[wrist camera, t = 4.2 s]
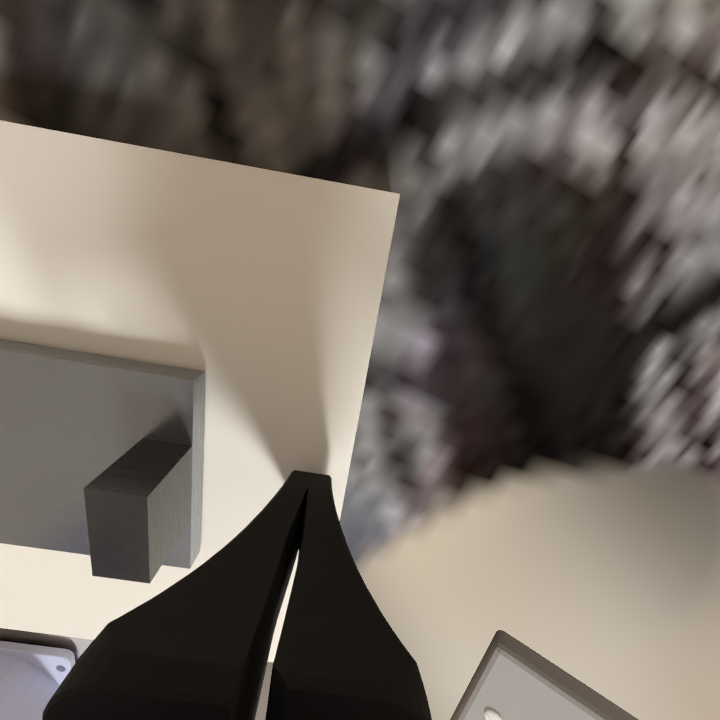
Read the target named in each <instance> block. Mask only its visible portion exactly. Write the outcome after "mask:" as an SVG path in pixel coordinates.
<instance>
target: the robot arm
mask: <svg viewBox="0 0 720 720" xmlns="http://www.w3.org/2000/svg"><path fill="white" fill-rule="evenodd" d="M298 550H299V554H298ZM297 554H298V562H297V568H296V572H295V577H294V581H293V585H292V590H291V594H290V598H289V602H288V606H287V610H286V615H285V619H284V623H283V627H282V631H281V635H280V639H279V643H278V647H277V651H276V655H275V658H274V662H273V668H272V676H271V683H270V690H269V697H268V705H267V712H266V720H432V719H431V714H430V709H429V705H428V701H427V696H426V693H425V689H424V685H423V682H422V679H421V675H420V672H419V669H418V666H417V663H416V662H415V660H414V659H413V658H412V656H411V655H410V654H409V652H408V651H407V650H406V648H405V647H404V646H403V644H402V643H401V641H400V640H399V638H398V637H397V636H396V634H395V633H394V632H393V630H392V628H391V627H390V625H389V624H388V622H387V621H386V619H385V618H384V616H383V615H382V613H381V612H380V610H379V608H378V606H377V605H376V603H375V601H374V599H373V597H372V596H371V594H370V592H369V591H368V589H367V587H366V585H365V583H364V581H363V579H362V577H361V575H360V573H359V571H358V569H357V567H356V565H355V562H354V560H353V558H352V556H351V553H350V551H349V548H348V546H347V543H346V540H345V537H344V534H343V532H342V528H341V525H340V522H339V518H338V515H337V511H336V507H335V503H334V497H333V491H332V478H331V477H330V476H329V475H325V474H318V473H311V472H305V471H298V470H294V471H292V472H291V473H290V475H289V477H288V478H287V480H286V481H285V483H284V484H283V485H282V487H281V488H280V489H279V491H278V492H277V493H276V494H275V496H274V497H273V498H272V499H271V500H270V501H269V503H268V504H267V505H266V506H265V507H264V508H263V510H262V511H261V512H260V513H259V514H258V515H257V516H256V517H255V518H254V519H253V520H252V521H251V522H250V523H249V524H248V525H247V526H246V527H245V528H244V529H243V530H242V531H241V532H240V533H239V534H238V535H237V536H236V537H235V538H233V539H232V540H231V541H230V542H229V543H228V544H227V545H225V546H224V547H223V548H222V549H221V550H220V551H218V552H217V553H216V554H214V555H213V556H212V557H211V558H209V559H208V560H207V561H206V562H204V563H203V564H202V565H200V566H199V567H198V568H196V569H195V570H194V571H192V572H191V573H190V574H188V575H187V576H185V577H184V578H182V579H181V580H179V581H178V582H176V583H175V584H173V585H172V586H170V587H169V588H167V589H166V590H164V591H163V592H161V593H160V594H158V595H156V596H155V597H153V598H152V599H150V600H148V601H146V602H145V603H143V604H141V605H140V606H138V607H136V608H134V609H133V610H131V611H129V612H127V613H126V614H124V615H122V616H120V617H119V618H117V619H115V620H113V621H111V622H109V623H108V624H107V625H106V626H105V628H104V629H103V630H102V631H101V632H100V633H99V635H98V636H97V637H96V638H95V639H94V640H93V642H92V643H91V644H90V645H89V647H88V648H87V649H86V650H85V651H84V653H83V654H82V655H81V656H80V657H79V659H78V660H77V662H76V663H75V657H74V653H73V652H72V651H70V650H68V649H63V648H55V647H47V646H39V645H31V644H23V643H15V642H7V641H0V720H255V716H256V711H257V707H258V702H259V697H260V693H261V688H262V683H263V679H264V675H265V670H266V666H267V661H268V657H269V652H270V648H271V643H272V639H273V634H274V631H275V627H276V623H277V619H278V616H279V613H280V609H281V606H282V603H283V600H284V596H285V593H286V590H287V587H288V583H289V580H290V577H291V574H292V570H293V567H294V564H295V560H296V557H297Z"/></svg>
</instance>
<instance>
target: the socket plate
mask: <svg viewBox="0 0 720 720" xmlns="http://www.w3.org/2000/svg"><path fill="white" fill-rule="evenodd" d="M399 197H400V194H397V193H392V192H386V191H381V190H376V189H370V188H365V187H359V186H354V185H348V184H343V183H338V182H332V181H327V180H321V179H316V178H310V177H305V176H300V175H294V174H289V173H283V172H278V171H272V170H267V169H262V168H256V167H251V166H245V165H240V164H234V163H229V162H223V161H218V160H213V159H207V158H202V157H196V156H191V155H185V154H180V153H175V152H169V151H164V150H158V149H153V148H147V147H142V146H137V145H131V144H126V143H120V142H115V141H109V140H104V139H98V138H93V137H88V136H82V135H77V134H71V133H66V132H60V131H55V130H50V129H44V128H39V127H33V126H28V125H22V124H17V123H12V122H6V121H1V120H0V339H4V340H10V341H16V342H23V343H29V344H35V345H42V346H48V347H54V348H60V349H67V350H73V351H79V352H86V353H92V354H98V355H104V356H111V357H117V358H123V359H130V360H136V361H142V362H148V363H155V364H161V365H167V366H174V367H180V368H186V369H193V370H199V371H205V401H204V435H203V470H202V504H201V538H200V552H199V554H198V556H197V557H196V559H195V561H194V563H193V565H192V567H191V568H190V569H187V568H180V567H172V566H165V565H162V566H161V567H160V569H159V570H158V572H157V573H156V575H155V576H154V578H153V580H152V581H151V583H150V584H149V583H142V582H134V581H127V580H119V579H112V578H104V577H97V576H92V567H91V557H90V555H84V554H77V553H69V552H62V551H54V550H47V549H40V548H32V547H25V546H17V545H10V544H3V543H0V628H4V629H12V630H20V631H28V632H36V633H44V634H52V635H60V636H68V637H76V638H84V639H92V640H94V639H95V638H96V637H97V636H98V635H99V633H100V632H101V631H102V630H103V629H104V628H105V626H106V625H107V624H108V623H109V622H111V621H113V620H115V619H117V618H119V617H120V616H122V615H124V614H126V613H127V612H129V611H131V610H133V609H134V608H136V607H138V606H140V605H141V604H143V603H145V602H146V601H148V600H150V599H152V598H153V597H155V596H156V595H158V594H160V593H161V592H163V591H164V590H166V589H167V588H169V587H170V586H172V585H173V584H175V583H176V582H178V581H179V580H181V579H182V578H184V577H185V576H187V575H188V574H190V573H191V572H192V571H194V570H195V569H196V568H198V567H199V566H200V565H202V564H203V563H204V562H206V561H207V560H208V559H209V558H211V557H212V556H213V555H214V554H216V553H217V552H218V551H220V550H221V549H222V548H223V547H224V546H225V545H227V544H228V543H229V542H230V541H231V540H232V539H233V538H235V537H236V536H237V535H238V534H239V533H240V532H241V531H242V530H243V529H244V528H245V527H246V526H247V525H248V524H249V523H250V522H251V521H252V520H253V519H254V518H255V517H256V516H257V515H258V514H259V513H260V512H261V511H262V510H263V508H264V507H265V506H266V505H267V504H268V503H269V501H270V500H271V499H272V498H273V497H274V496H275V494H276V493H277V492H278V491H279V489H280V488H281V487H282V485H283V484H284V483H285V481H286V480H287V478H288V477H289V475H290V473H291V472H292V471H294V470H298V471H305V472H311V473H318V474H325V475H329V476H330V477H331V478H332V491H333V497H334V503H335V507H336V511H337V515H338V518H339V521H340V516H341V510H342V505H343V499H344V494H345V489H346V483H347V478H348V472H349V467H350V462H351V456H352V451H353V446H354V440H355V435H356V429H357V424H358V419H359V413H360V408H361V402H362V397H363V392H364V386H365V381H366V375H367V370H368V365H369V359H370V354H371V348H372V343H373V338H374V332H375V327H376V321H377V316H378V311H379V305H380V300H381V294H382V289H383V284H384V278H385V273H386V267H387V262H388V257H389V251H390V246H391V241H392V235H393V230H394V224H395V219H396V214H397V208H398V203H399ZM298 554H299V550H298ZM298 554H297V557H296V560H295V564H294V567H293V570H292V574H291V577H290V580H289V583H288V587H287V590H286V593H285V596H284V600H283V603H282V606H281V609H280V613H279V616H278V619H277V623H276V627H275V631H274V634H273V639H272V643H271V648H270V652H269V657H268V661H267V662H274V658H275V655H276V651H277V647H278V643H279V639H280V635H281V631H282V627H283V623H284V619H285V615H286V610H287V606H288V602H289V598H290V594H291V590H292V585H293V581H294V577H295V572H296V568H297V562H298Z"/></svg>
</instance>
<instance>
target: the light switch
mask: <svg viewBox="0 0 720 720" xmlns="http://www.w3.org/2000/svg"><path fill="white" fill-rule="evenodd" d="M450 720H638V719H637V718H635V717H634V716H632V715H630V714H629V713H628V712H626V711H624V710H623V709H622V708H620V707H618V706H617V705H615V704H614V703H612V702H611V701H609V700H608V699H606V698H604V697H603V696H602V695H600V694H599V693H597V692H596V691H594V690H593V689H591V688H590V687H588V686H587V685H585V684H583V683H582V682H580V681H579V680H577V679H576V678H574V677H573V676H571V675H570V674H568V673H567V672H565V671H564V670H562V669H560V668H559V667H558V666H556V665H554V664H553V663H551V662H550V661H548V660H547V659H545V658H544V657H542V656H541V655H539V654H538V653H536V652H535V651H533V650H532V649H530V648H529V647H527V646H526V645H524V644H523V643H521V642H520V641H518V640H516V639H515V638H513V637H512V636H510V635H509V634H507V633H506V632H504V631H501V630H499V631H497V632H496V634H495V635H494V637H493V639H492V641H491V643H490V645H489V647H488V649H487V651H486V653H485V654H484V656H483V658H482V660H481V662H480V664H479V666H478V668H477V670H476V672H475V674H474V675H473V677H472V679H471V681H470V683H469V685H468V687H467V689H466V691H465V693H464V695H463V696H462V698H461V700H460V703H459V704H458V706H457V708H456V710H455V712H454V714H453V716H452V717H451V719H450Z"/></svg>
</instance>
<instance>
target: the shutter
mask: <svg viewBox="0 0 720 720" xmlns="http://www.w3.org/2000/svg"><path fill="white" fill-rule="evenodd" d="M204 401H205V371H199V370H193V369H186V368H180V367H174V366H167V365H161V364H155V363H148V362H142V361H136V360H130V359H123V358H117V357H111V356H104V355H98V354H92V353H86V352H79V351H73V350H67V349H60V348H54V347H48V346H42V345H35V344H29V343H23V342H16V341H10V340H4V339H0V543H3V544H10V545H17V546H25V547H32V548H40V549H47V550H54V551H62V552H69V553H77V554H84V555H90V557H91V567H92V576H97V577H104V578H112V579H119V580H127V581H134V582H142V583H149V584H150V583H151V581H152V580H153V578H154V576H155V575H156V573H157V572H158V570H159V569H160V567H161V566H162V565H165V566H172V567H180V568H187V569H190V568H191V567H192V565H193V563H194V561H195V559H196V557H197V556H198V554H199V552H200V538H201V504H202V470H203V435H204Z"/></svg>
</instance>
